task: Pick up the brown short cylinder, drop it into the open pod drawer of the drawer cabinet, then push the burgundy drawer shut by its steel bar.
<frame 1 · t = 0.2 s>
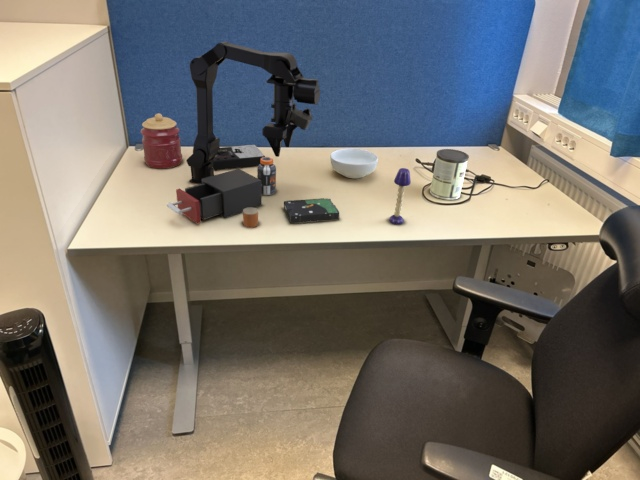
hand: (282, 151, 144), 15 cm above the table, tool pointing down, fingers open, 9 cm apart
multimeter: (235, 162, 174), on the table
coffee can: (444, 194, 160), on the table
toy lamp: (395, 222, 140), on the table
brown short cylinder: (250, 223, 133), on the table
drawer cabinet: (232, 205, 143), on the table
disk drive: (310, 215, 141), on the table
pill bottle: (266, 192, 153), on the table
cereal bowl: (352, 174, 170), on the table
kitchen canister: (164, 162, 169), on the table
pod drawer: (199, 202, 134), point 4 cm above the table, slide at 7.5 cm
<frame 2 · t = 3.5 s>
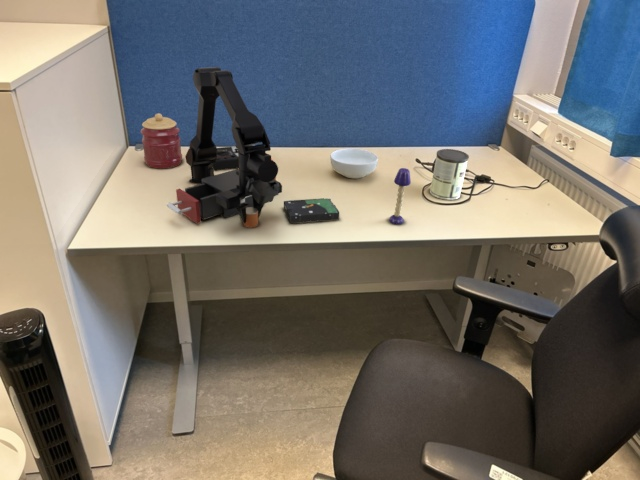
hand: (250, 220, 133), 1 cm above the table, tool pointing down, fingers closed on brown short cylinder, 4 cm apart
brown short cylinder: (250, 223, 133), on the table, touching gripper
everything else where it was.
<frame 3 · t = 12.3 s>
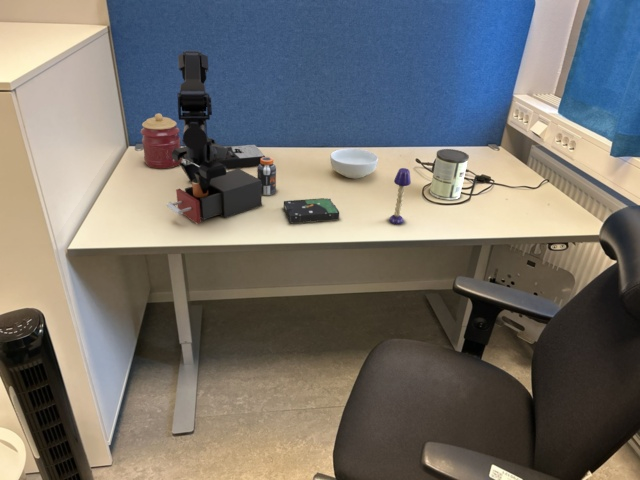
hand: (200, 190, 132), 8 cm above the table, tool pointing down, fingers closed on brown short cylinder, 4 cm apart
brown short cylinder: (200, 194, 133), point 7 cm above the table, touching gripper
everything else where it was.
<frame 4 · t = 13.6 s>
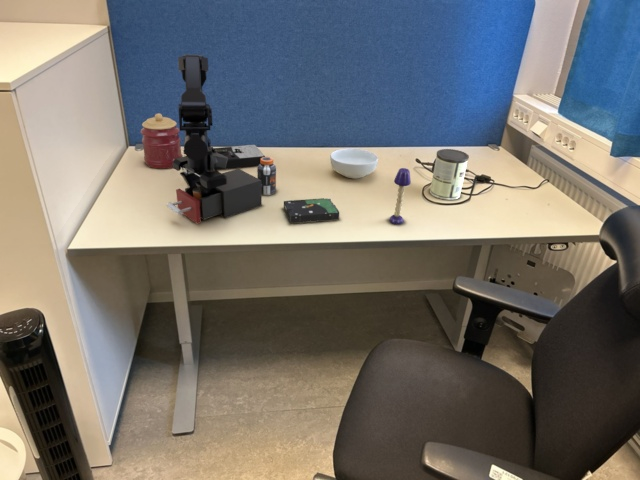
hand: (201, 199, 134), 5 cm above the table, tool pointing down, fingers closed on brown short cylinder, 4 cm apart
brown short cylinder: (201, 203, 135), point 4 cm above the table, touching gripper
everything else where it was.
when the fingers open (8 cm above the table, at t = 21.2 s): brown short cylinder drops 5 cm, resting on pod drawer.
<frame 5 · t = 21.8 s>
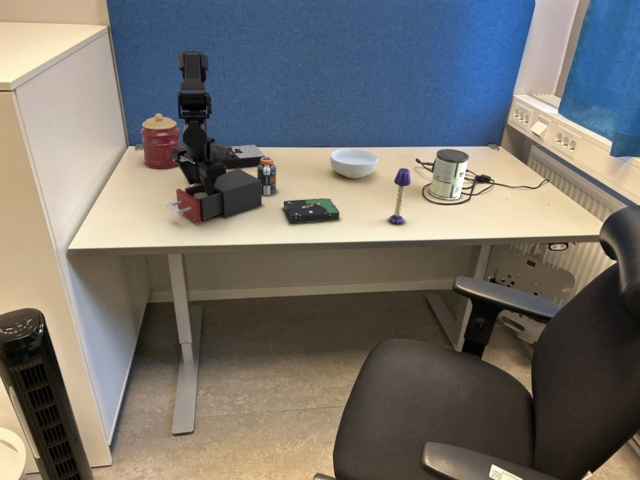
hand: (200, 189, 132), 8 cm above the table, tool pointing down, fingers open, 9 cm apart
brown short cylinder: (202, 209, 135), point 2 cm above the table, touching pod drawer
pod drawer: (199, 202, 134), point 4 cm above the table, slide at 7.5 cm, touching brown short cylinder
everything else where it was.
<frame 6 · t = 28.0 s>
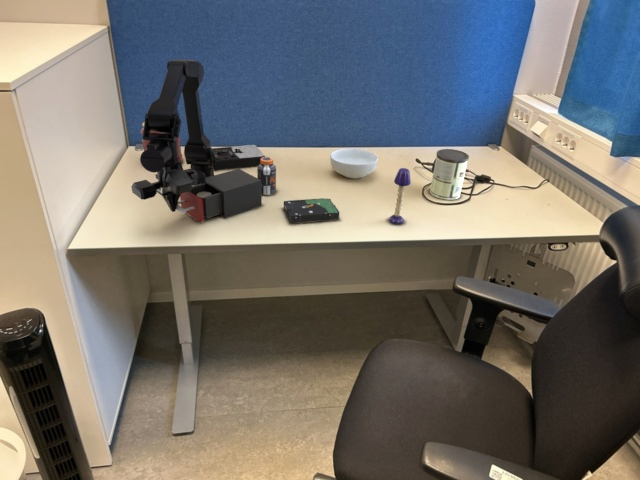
hand: (173, 211, 129), 4 cm above the table, tool pointing down, fingers closed
brown short cylinder: (205, 208, 136), point 2 cm above the table, touching pod drawer
pod drawer: (202, 201, 134), point 4 cm above the table, slide at 6.5 cm, touching brown short cylinder, gripper
everything else where it was.
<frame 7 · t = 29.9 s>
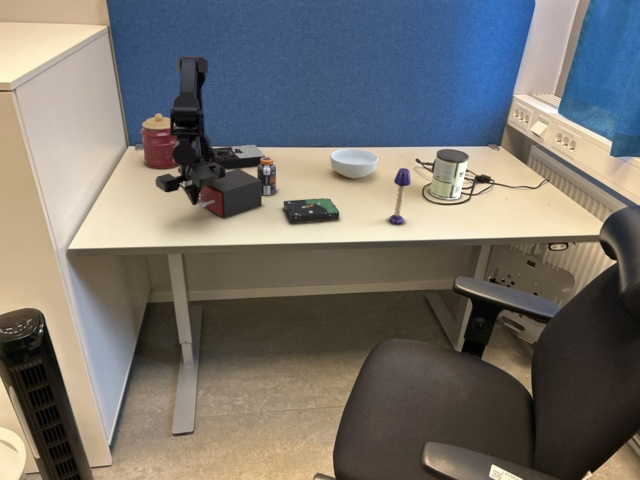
hand: (194, 204, 133), 4 cm above the table, tool pointing down, fingers closed
brown short cylinder: (223, 202, 140), point 2 cm above the table, touching pod drawer
pod drawer: (221, 195, 138), point 4 cm above the table, slide at 0.0 cm, touching brown short cylinder, gripper
everything else where it was.
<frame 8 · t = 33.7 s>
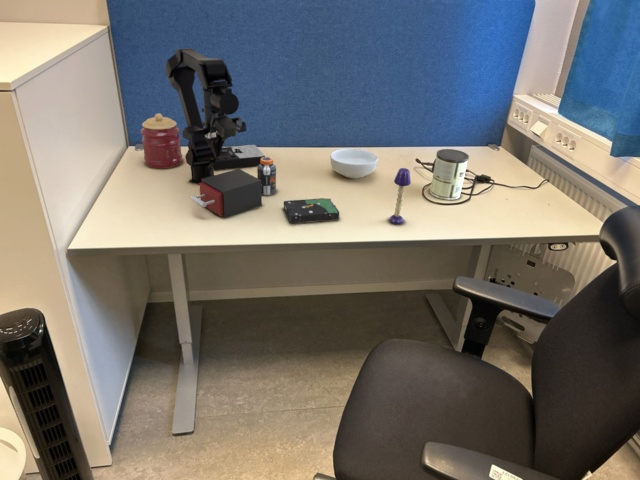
hand: (216, 157, 142), 13 cm above the table, tool pointing down, fingers closed
pod drawer: (221, 195, 138), point 4 cm above the table, slide at 0.0 cm, touching brown short cylinder
everything else where it was.
at the end: brown short cylinder inside the target area in the drawer cabinet (3.1 cm from its centre), point 1.9 cm above the drawer cabinet's base; pod drawer slide at 0.0 cm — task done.
